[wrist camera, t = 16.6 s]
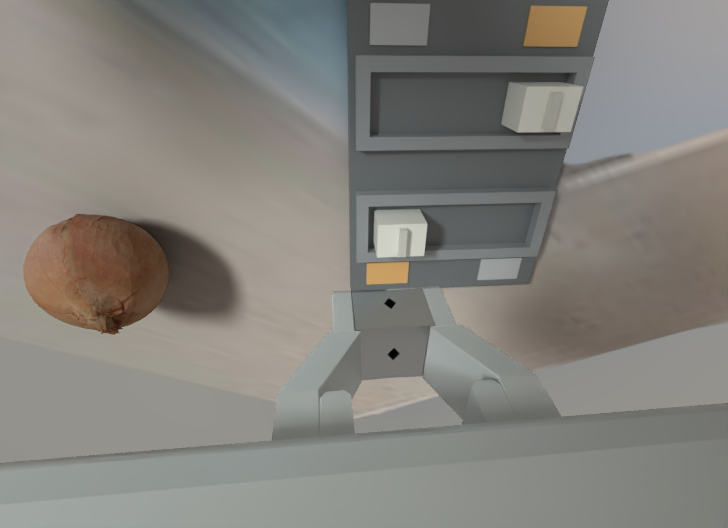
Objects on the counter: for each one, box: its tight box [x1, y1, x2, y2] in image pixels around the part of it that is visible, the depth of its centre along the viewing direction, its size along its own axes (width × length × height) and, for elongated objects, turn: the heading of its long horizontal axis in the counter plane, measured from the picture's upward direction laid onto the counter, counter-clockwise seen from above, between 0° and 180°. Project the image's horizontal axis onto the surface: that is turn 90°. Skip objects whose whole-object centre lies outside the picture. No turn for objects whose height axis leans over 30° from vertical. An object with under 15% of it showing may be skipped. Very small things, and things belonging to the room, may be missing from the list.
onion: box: [24, 214, 169, 334], centre depth 30 cm, size 10×9×10 cm
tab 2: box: [501, 82, 583, 133], centre depth 27 cm, size 3×4×4 cm
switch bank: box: [347, 0, 609, 290], centre depth 31 cm, size 24×18×2 cm
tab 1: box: [373, 209, 427, 258], centre depth 32 cm, size 3×4×4 cm
